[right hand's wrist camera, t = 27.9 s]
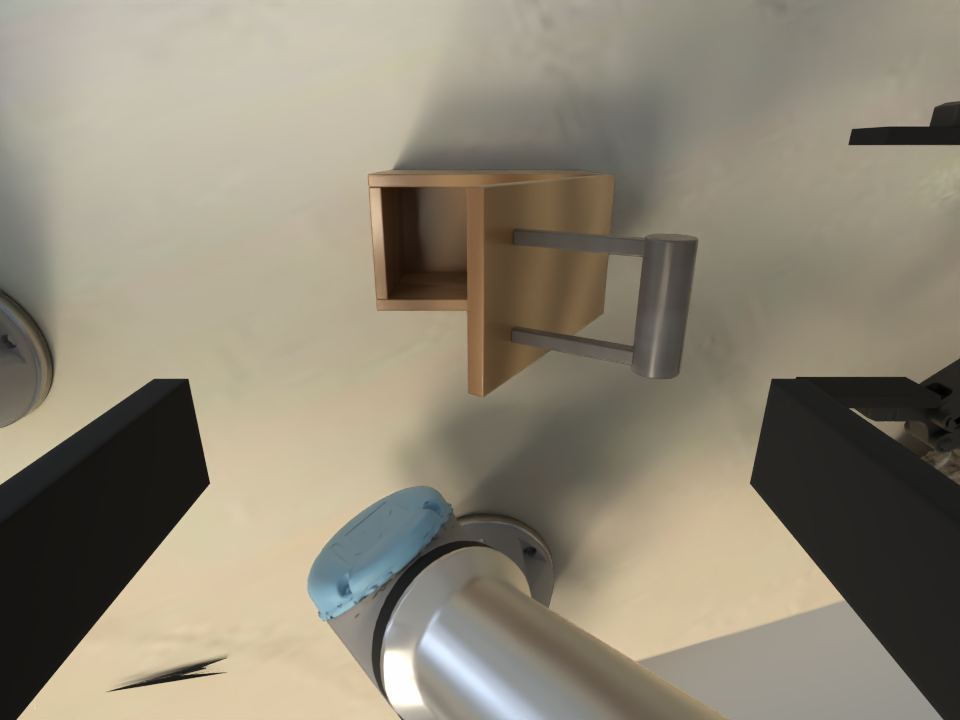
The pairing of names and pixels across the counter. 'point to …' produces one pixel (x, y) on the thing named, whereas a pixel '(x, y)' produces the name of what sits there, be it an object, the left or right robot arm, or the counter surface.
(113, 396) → the counter surface
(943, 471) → the fossil
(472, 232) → the lid
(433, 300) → the chest
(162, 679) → the feather
